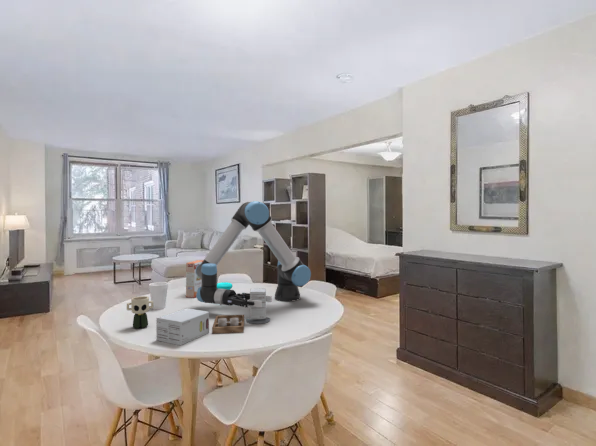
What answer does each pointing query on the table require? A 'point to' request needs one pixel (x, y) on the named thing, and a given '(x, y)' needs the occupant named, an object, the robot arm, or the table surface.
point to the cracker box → (192, 279)
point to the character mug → (140, 310)
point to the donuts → (224, 285)
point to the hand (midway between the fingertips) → (266, 301)
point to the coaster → (258, 320)
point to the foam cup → (158, 294)
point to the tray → (228, 324)
